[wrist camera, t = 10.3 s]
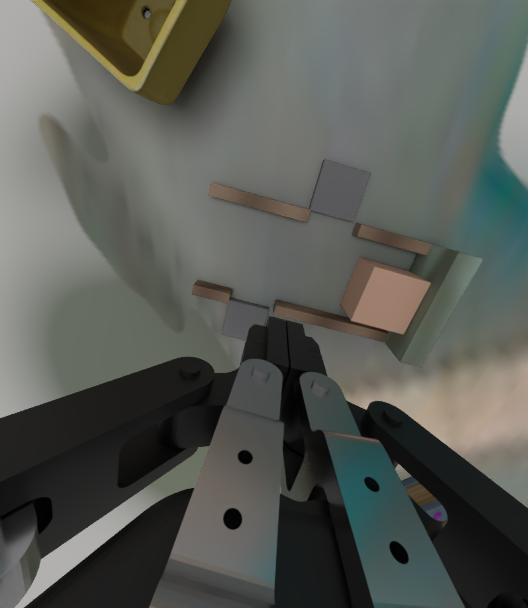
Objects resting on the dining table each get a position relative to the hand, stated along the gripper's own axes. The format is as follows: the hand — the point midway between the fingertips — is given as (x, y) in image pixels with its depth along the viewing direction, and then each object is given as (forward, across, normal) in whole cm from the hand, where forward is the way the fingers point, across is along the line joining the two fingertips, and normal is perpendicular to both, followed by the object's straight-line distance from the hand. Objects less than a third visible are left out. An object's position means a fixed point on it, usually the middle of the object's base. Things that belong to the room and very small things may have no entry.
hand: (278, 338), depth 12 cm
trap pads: (+15, -1, 0) cm, 15 cm away
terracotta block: (+15, -10, 0) cm, 18 cm away
